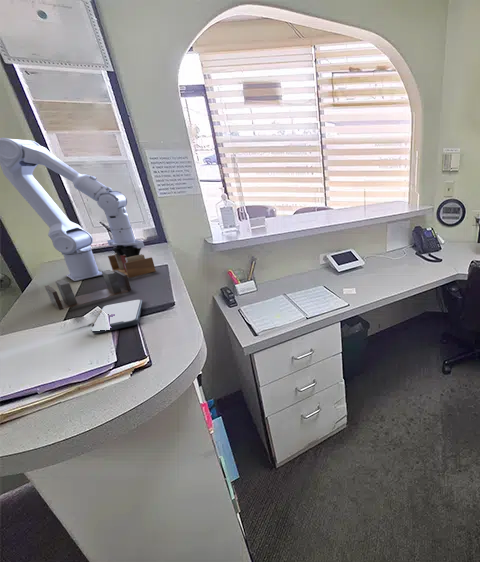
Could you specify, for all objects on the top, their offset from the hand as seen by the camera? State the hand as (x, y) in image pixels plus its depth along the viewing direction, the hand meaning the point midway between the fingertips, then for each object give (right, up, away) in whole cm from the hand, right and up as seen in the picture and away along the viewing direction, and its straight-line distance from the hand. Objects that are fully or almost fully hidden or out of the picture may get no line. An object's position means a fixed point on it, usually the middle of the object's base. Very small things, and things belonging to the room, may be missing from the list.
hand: (132, 266), depth 110 cm
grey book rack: (+6, -11, -21) cm, 24 cm away
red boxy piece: (0, -1, +1) cm, 1 cm away
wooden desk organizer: (0, -2, +1) cm, 2 cm away
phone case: (+22, -15, -32) cm, 41 cm away
